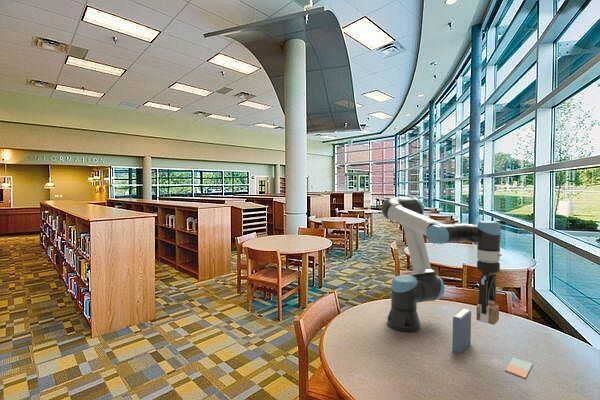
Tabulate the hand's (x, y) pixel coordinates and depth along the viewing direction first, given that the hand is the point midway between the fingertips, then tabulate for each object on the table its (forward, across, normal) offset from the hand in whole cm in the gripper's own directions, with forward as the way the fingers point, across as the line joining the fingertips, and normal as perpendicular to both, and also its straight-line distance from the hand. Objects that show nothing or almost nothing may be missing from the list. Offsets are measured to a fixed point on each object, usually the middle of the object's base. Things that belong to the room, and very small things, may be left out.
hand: (487, 318), depth 115 cm
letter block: (0, 0, 0) cm, 0 cm away
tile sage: (+15, +3, -10) cm, 19 cm away
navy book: (+15, 0, +9) cm, 17 cm away
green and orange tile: (+15, -3, -10) cm, 19 cm away
